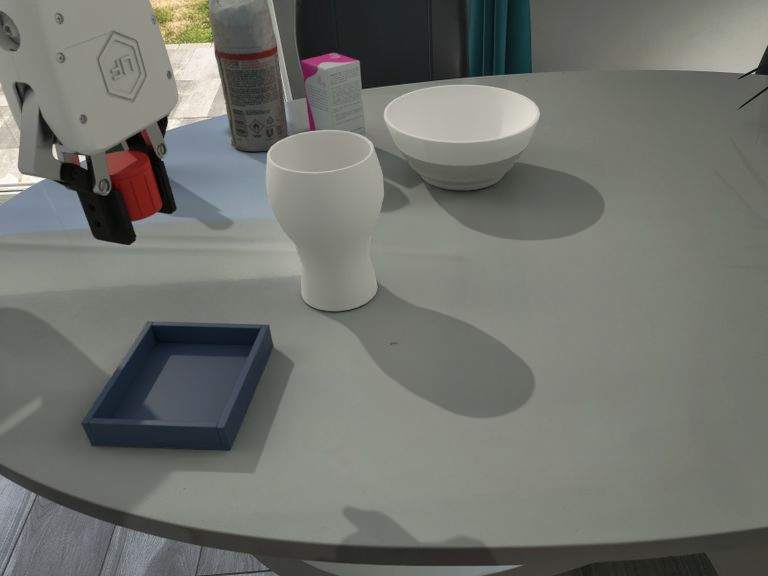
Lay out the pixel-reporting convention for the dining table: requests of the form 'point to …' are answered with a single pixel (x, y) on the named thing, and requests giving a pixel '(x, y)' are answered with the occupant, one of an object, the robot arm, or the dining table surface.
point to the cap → (134, 183)
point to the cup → (328, 212)
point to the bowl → (461, 133)
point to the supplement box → (334, 93)
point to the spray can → (249, 72)
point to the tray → (181, 387)
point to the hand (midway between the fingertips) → (136, 222)
